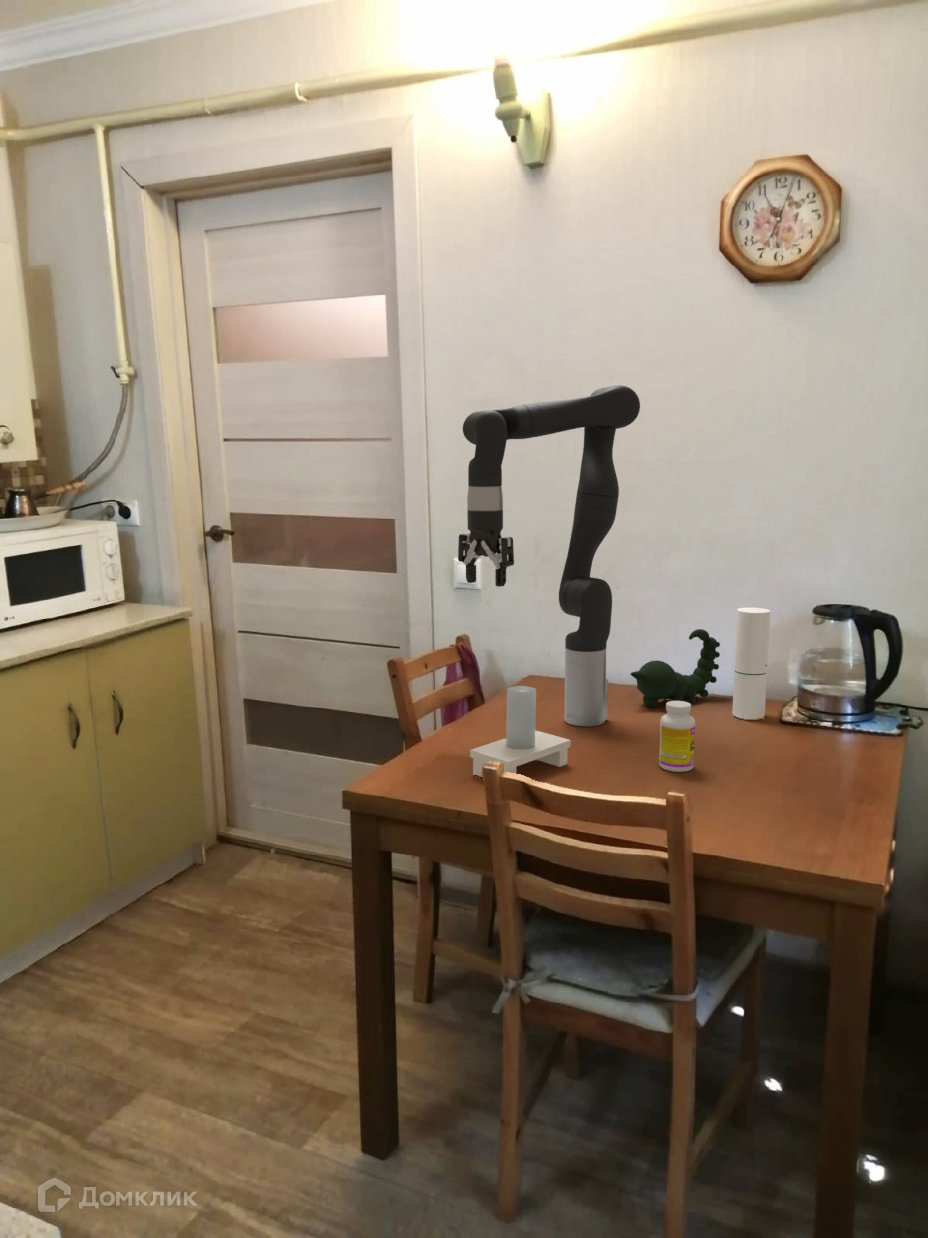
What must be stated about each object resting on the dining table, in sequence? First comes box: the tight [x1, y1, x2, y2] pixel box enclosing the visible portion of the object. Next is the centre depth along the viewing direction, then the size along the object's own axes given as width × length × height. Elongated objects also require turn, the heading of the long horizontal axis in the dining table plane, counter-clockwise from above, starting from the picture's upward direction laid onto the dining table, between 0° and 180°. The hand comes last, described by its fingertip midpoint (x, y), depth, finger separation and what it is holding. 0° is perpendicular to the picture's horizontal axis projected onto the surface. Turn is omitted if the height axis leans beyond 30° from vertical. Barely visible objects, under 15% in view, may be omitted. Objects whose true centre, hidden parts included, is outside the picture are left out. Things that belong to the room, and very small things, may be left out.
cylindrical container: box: [731, 607, 771, 719], centre depth 211 cm, size 7×7×25 cm
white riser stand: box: [469, 729, 571, 776], centre depth 179 cm, size 18×10×5 cm, turn 135°
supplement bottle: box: [658, 700, 696, 773], centre depth 179 cm, size 7×7×13 cm
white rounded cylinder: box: [505, 685, 537, 749], centre depth 178 cm, size 6×6×11 cm
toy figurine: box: [630, 628, 721, 708], centre depth 224 cm, size 9×19×25 cm
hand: (485, 584), depth 197 cm, fingers open, 8 cm apart
